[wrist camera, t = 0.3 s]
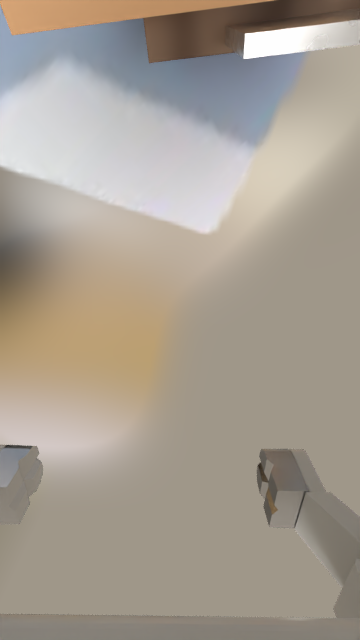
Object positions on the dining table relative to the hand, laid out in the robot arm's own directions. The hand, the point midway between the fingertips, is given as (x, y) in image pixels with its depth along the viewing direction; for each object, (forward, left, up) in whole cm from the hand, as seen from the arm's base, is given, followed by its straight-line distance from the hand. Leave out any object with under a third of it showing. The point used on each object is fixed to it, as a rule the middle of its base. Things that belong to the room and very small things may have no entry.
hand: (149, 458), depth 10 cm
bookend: (-3, +15, -27) cm, 31 cm away
